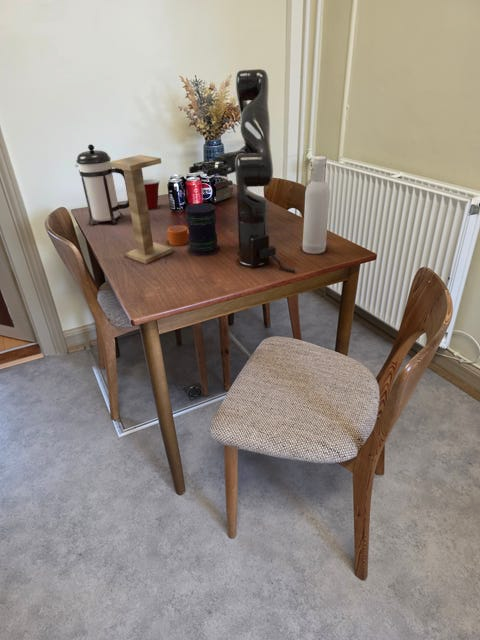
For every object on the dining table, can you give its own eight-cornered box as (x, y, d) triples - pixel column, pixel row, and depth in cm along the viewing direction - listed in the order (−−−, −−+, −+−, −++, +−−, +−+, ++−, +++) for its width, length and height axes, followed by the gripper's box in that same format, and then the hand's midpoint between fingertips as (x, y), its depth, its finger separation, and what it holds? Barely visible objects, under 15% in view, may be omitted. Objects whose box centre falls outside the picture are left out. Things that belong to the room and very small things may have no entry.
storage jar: (192, 257, 141) (188, 213, 134) (187, 246, 150) (182, 205, 142) (221, 253, 144) (218, 210, 136) (214, 242, 152) (211, 201, 144)
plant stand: (153, 245, 151) (139, 154, 135) (172, 251, 146) (160, 158, 129) (126, 256, 144) (108, 161, 127) (146, 263, 138) (129, 165, 122)
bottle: (318, 243, 148) (324, 153, 132) (330, 251, 142) (338, 158, 126) (298, 247, 146) (302, 156, 130) (309, 255, 139) (314, 161, 123)
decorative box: (241, 199, 197) (240, 178, 191) (208, 209, 185) (207, 187, 180) (222, 194, 205) (221, 173, 200) (190, 203, 193) (188, 182, 188)
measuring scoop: (200, 227, 166) (199, 215, 163) (214, 231, 162) (213, 218, 159) (165, 242, 153) (163, 229, 151) (178, 247, 150) (176, 233, 147)
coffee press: (97, 230, 167) (80, 150, 151) (82, 220, 178) (64, 144, 162) (136, 219, 176) (124, 143, 160) (119, 211, 187) (106, 138, 171)
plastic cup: (165, 203, 194) (162, 177, 188) (159, 211, 185) (156, 183, 179) (143, 204, 195) (139, 177, 189) (136, 211, 186) (131, 183, 180)
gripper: (213, 151, 163) (183, 158, 152) (241, 154, 155) (212, 163, 145) (214, 171, 167) (185, 180, 156) (242, 175, 159) (213, 185, 149)
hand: (198, 171), depth 150 cm, fingers open, 8 cm apart
